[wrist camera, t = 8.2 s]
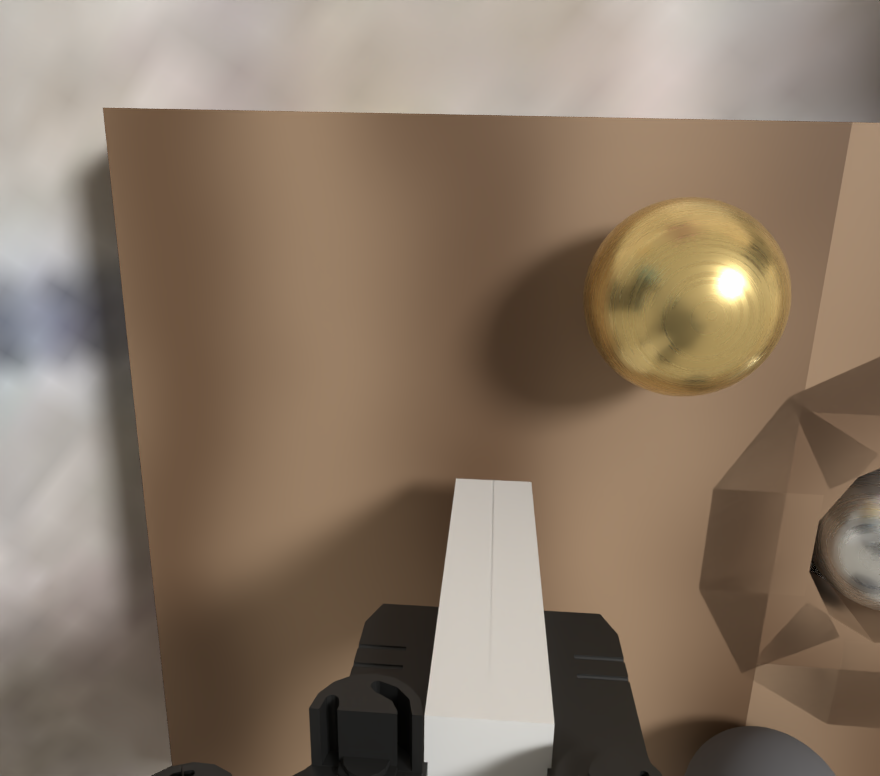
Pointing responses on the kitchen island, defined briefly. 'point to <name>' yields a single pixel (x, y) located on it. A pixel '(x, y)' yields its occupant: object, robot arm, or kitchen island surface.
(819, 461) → the board
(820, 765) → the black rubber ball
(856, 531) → the steel ball
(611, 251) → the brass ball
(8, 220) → the kitchen island surface
